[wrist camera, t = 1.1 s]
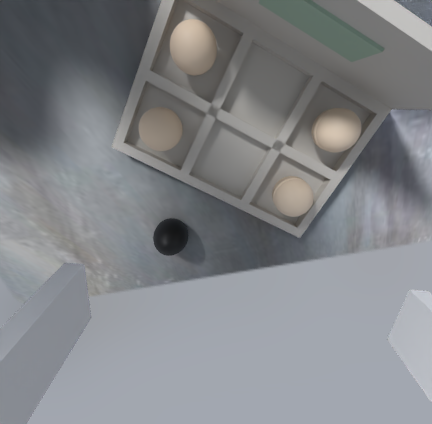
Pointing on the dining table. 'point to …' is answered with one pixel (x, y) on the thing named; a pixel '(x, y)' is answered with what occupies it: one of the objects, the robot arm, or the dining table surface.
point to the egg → (170, 236)
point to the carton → (272, 96)
